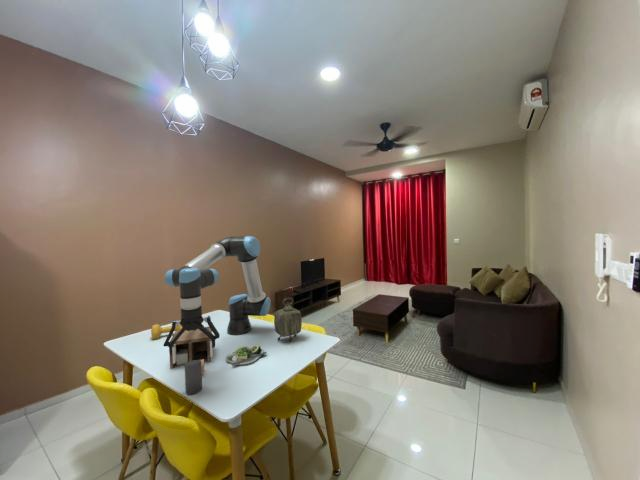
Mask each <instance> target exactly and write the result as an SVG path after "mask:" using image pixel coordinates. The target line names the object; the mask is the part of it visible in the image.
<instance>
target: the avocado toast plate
mask: <svg viewBox="0 0 640 480" xmlns="http://www.w3.org/2000/svg"><path fill="white" fill-rule="evenodd" d="M266 354H267V351H264V350H263V349H261V345H259V344H255V345H253V347H252V346H243V347H242V346H241V347H239V348H237V349H235V350H234V351H232V352H231V353H229V354H228V355H227V356H225V360H226V362H227V363H229V364H230V365H231V366H233V367H235V366H244V365H245V366H246V365H248V364H253V363H254V362H256V361H257V360H259V359H260V358H261V357H262V356H264V355H266ZM234 357H236V360H233V358H234Z"/></svg>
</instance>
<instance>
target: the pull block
mask: <svg viewBox="0 0 640 480" xmlns="http://www.w3.org/2000/svg"><path fill="white" fill-rule="evenodd" d="M204 373H205V359H204V358H203V359H194V360H193V361H190V362H189V361H188V362H187V363H185V364H184V379H185V383H184V384H185V394H186V395H187V396H192V395H197V394H198V393H200V392H201V391H202V390H203V377H204Z"/></svg>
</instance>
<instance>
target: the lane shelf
mask: <svg viewBox="0 0 640 480" xmlns="http://www.w3.org/2000/svg"><path fill="white" fill-rule="evenodd" d="M204 327H205V328H206V329H207V330H209V331H210V332H211V333H212V334H213V332H212V330H211V329H210V327H209V326H204ZM179 331H180V330H178V331H174V332H173V334H172V336H171V338H170V340H169V342H171V341H172V340H173V339H174V338H175V336H176V335H177V334H178V333H179ZM174 344H176V354H177V352H178V350H181V349H187V348H189V361H188V362H190V361H193V360H195V356H196V353H198V352H204V351H206V352H207V363H210V362H211V361H212V357H210V338H209V337H208V336H206V335H205V334H204V333H203V332H202V331H200V330H199V329H196V330H191V331H187V330H185V331H184V332H183V333H182V335H181V336H180V337H179V338H178V340H177V341H176V342H175V343H174ZM175 364H176V362H175V363H174V364H173V356H172V355H170V354H169V369H174V367H175Z"/></svg>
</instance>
